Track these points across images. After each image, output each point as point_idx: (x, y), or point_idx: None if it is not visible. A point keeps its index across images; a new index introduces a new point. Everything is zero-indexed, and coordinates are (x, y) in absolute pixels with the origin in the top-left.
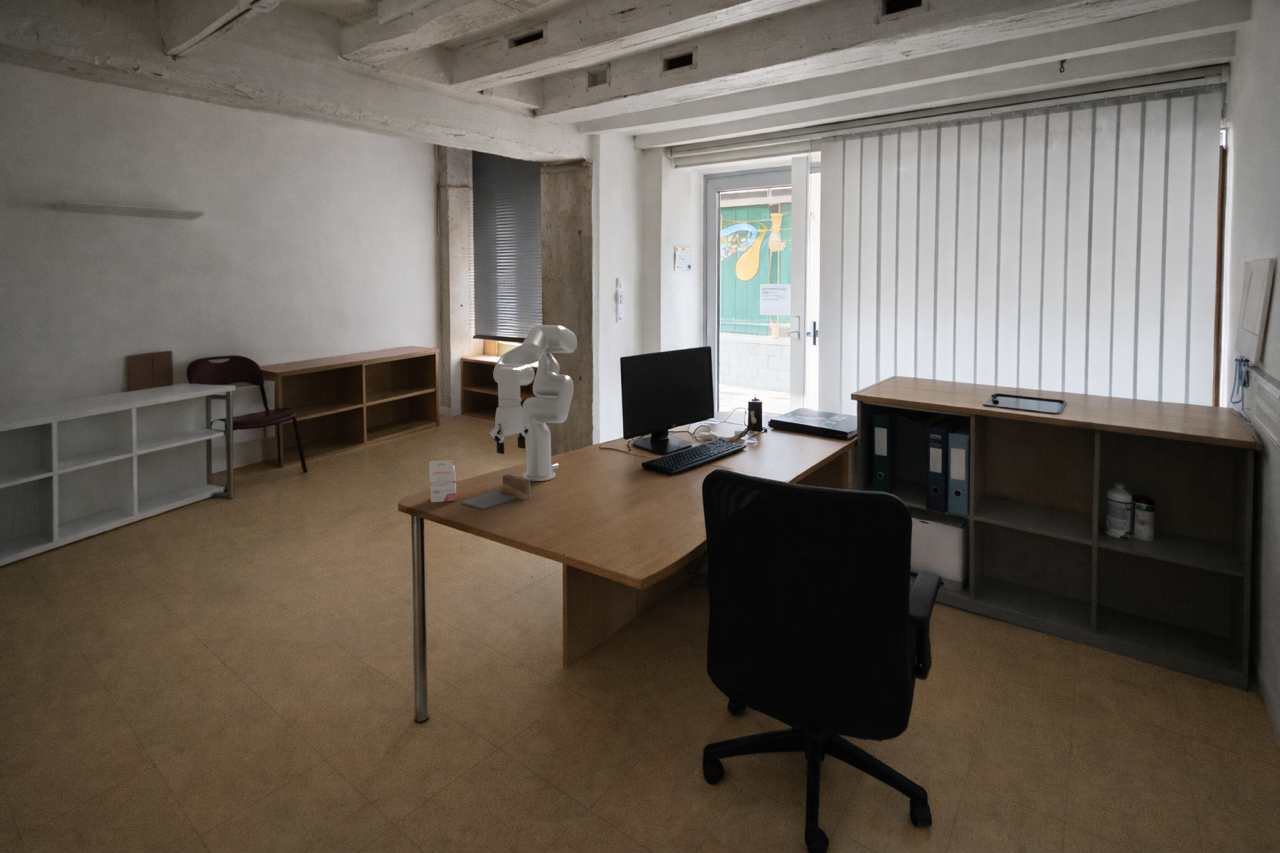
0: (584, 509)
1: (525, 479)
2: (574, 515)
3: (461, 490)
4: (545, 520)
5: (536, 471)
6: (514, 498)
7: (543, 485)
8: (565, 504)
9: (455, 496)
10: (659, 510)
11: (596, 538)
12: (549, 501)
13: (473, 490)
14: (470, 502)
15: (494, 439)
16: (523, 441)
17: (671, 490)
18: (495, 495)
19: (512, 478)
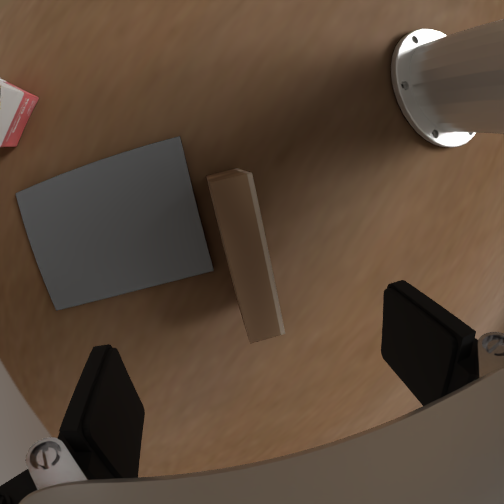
0: (310, 444)
1: (267, 325)
2: None
3: (102, 20)
4: (183, 461)
5: (438, 108)
6: (206, 271)
7: (398, 182)
8: (305, 401)
9: (7, 146)
10: None
11: None
12: (291, 359)
13: (138, 44)
14: (37, 220)
15: (17, 488)
16: (416, 397)
17: None
18: (156, 193)
19: (229, 261)
